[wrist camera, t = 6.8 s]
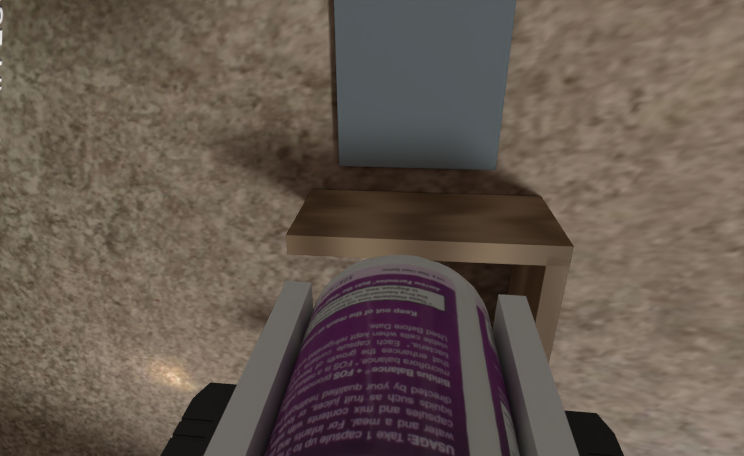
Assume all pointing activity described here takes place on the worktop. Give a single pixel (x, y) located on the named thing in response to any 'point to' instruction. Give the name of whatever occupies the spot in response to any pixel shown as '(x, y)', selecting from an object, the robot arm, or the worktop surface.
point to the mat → (421, 81)
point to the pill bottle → (396, 369)
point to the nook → (445, 237)
